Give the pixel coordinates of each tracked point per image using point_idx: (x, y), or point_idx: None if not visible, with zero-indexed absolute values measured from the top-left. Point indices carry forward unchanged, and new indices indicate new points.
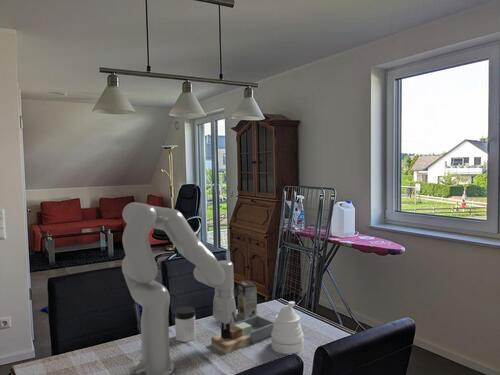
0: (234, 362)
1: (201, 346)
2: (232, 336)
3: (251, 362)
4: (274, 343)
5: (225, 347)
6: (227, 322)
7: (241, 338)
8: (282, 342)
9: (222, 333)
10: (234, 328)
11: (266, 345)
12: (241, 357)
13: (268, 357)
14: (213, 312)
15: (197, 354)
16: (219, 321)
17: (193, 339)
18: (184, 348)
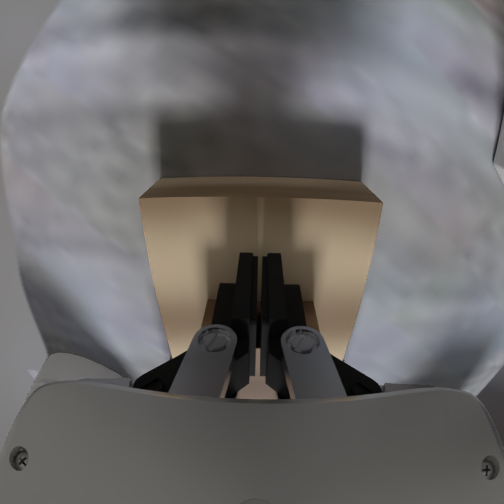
0: (47, 156)
1: (400, 115)
2: (203, 318)
3: (20, 228)
4: (67, 379)
5: (157, 191)
6: (27, 401)
7: (188, 345)
8: (36, 386)
9: (262, 281)
10: (256, 389)
11: (133, 370)
12: (74, 222)
13: (38, 306)
14: (495, 466)
15: (312, 9)
16: (362, 386)
17: (495, 154)
18: (451, 28)
